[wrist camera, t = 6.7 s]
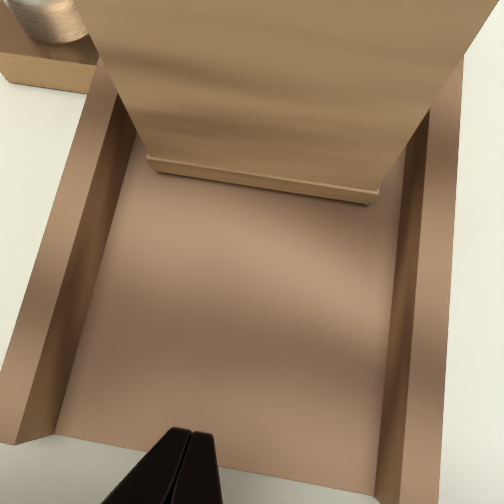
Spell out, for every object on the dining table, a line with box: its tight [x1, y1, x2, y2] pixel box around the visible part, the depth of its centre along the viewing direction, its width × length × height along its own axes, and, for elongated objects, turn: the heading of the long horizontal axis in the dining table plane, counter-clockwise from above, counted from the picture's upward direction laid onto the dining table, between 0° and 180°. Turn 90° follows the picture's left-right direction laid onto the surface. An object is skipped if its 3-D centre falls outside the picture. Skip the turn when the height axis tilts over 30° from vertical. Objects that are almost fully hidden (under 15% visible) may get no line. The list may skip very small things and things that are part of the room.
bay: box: [0, 56, 464, 504], centre depth 14 cm, size 20×13×7 cm, turn 170°
